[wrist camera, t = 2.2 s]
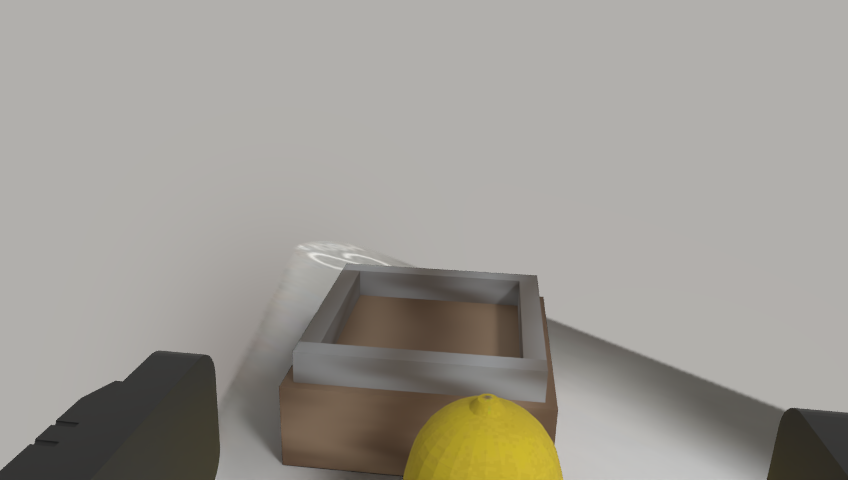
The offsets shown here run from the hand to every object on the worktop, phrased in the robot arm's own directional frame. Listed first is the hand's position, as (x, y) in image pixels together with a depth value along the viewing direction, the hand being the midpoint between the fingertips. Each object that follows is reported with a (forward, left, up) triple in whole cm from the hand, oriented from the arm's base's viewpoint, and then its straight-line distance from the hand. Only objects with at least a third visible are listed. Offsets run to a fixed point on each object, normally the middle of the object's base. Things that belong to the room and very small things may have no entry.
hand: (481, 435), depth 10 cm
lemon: (0, -11, -14) cm, 18 cm away
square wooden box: (+3, -23, -14) cm, 27 cm away
